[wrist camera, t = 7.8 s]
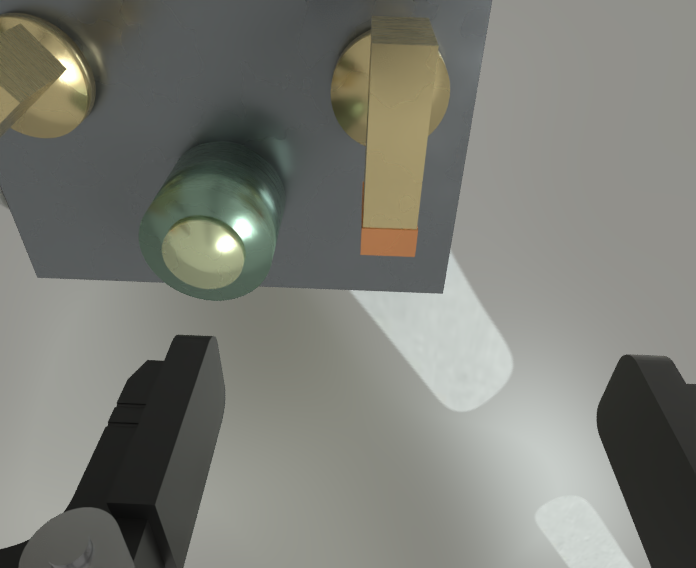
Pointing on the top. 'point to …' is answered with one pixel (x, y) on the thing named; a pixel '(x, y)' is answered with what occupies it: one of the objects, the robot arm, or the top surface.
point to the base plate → (235, 102)
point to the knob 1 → (41, 78)
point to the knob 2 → (391, 123)
